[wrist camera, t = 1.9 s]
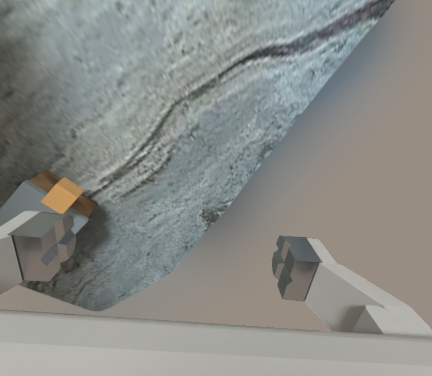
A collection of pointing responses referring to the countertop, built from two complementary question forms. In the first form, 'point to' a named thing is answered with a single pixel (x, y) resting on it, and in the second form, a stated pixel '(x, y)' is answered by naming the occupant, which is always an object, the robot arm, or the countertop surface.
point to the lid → (44, 202)
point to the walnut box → (50, 180)
